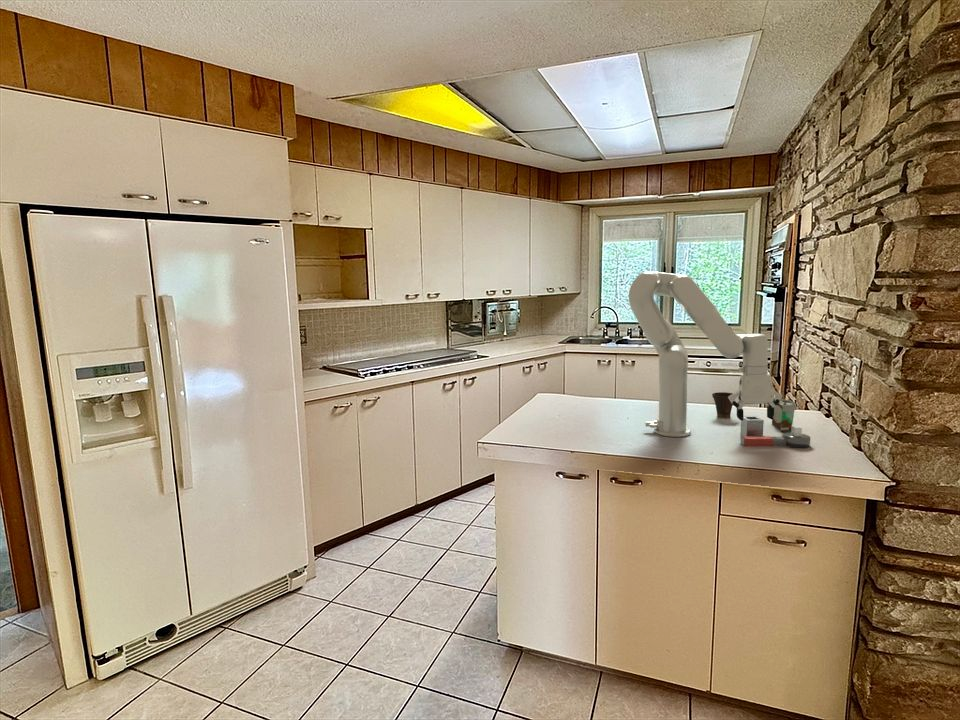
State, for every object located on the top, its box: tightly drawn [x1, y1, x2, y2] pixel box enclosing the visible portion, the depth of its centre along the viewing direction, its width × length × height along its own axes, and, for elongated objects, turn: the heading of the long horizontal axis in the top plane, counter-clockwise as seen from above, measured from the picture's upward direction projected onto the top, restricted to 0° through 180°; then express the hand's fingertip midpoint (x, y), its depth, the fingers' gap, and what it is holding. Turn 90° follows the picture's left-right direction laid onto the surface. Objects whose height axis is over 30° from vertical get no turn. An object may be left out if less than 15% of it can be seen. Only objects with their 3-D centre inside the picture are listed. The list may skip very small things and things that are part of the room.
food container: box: [771, 397, 797, 433], centre depth 194 cm, size 12×6×10 cm, turn 168°
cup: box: [711, 391, 734, 419], centre depth 212 cm, size 9×9×10 cm
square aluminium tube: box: [739, 415, 765, 437], centre depth 185 cm, size 5×5×7 cm
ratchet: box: [740, 425, 811, 450], centre depth 177 cm, size 21×8×6 cm, turn 84°
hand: (755, 419), depth 185 cm, fingers open, 9 cm apart
